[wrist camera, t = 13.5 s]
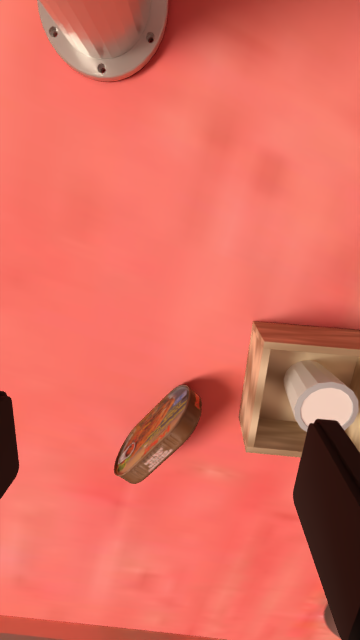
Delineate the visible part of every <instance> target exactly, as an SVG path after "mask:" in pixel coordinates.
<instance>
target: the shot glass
mask: <svg viewBox="0 0 360 640" xmlns="http://www.w3.org/2000/svg"><path fill="white" fill-rule="evenodd" d="M284 387H285V390H286V393H287V396H288V399H289V402H290V405H291V408H292V411H293V414H294V417H295V420H296V421H297V423H298V425H299V426H300V428H302V429H303V430H304V431H306V432H307V429H308V426H309V424H310V423H314V422H315V420H316V419H326V420H336V421H338V422H339V423H340V425H341V426H342V428H343V429H344V430H346V429H347V428H348V427H349V426H350V425H351V424H352V423H353V422H354V420H355V418H356V416H357V414H358V412H359V409H358V399H357V397H356V396H355V394H354V392H353V391H352V390H351V389H350V388H349V387H347V386H346V385H345V384H344V383H343V382H342V381H340V380H339V379H338V378H337V377H336V376H334V375H333V374H332V373H331V372H330V371H328V370H327V369H326V368H325V367H324V366H322V365H321V364H319V363H318V362H316V361H311V360H304V361H299V362H297V363H295V364H293V365H292V366H291V367H290V368H289V369H288V370H287V371H286V374H285V376H284Z"/></svg>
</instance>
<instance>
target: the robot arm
mask: <svg viewBox="0 0 360 640" xmlns="http://www.w3.org/2000/svg"><path fill="white" fill-rule="evenodd" d="M37 3H38V11H39V15H40V19H41V22H42V26H43V28H44V31H45V33H46V35H47V37H48V39H49V41H50V43H51V44H52V46H53V47H54V49H55V50H56V52H57V53H58V54H59V56H60V57H61V58H62V59H63V60H64V61H65V62H66V63H67V64H68V65H69V66H70V67H71V68H72V69H73V70H75V71H76V72H78V73H80V74H81V75H83V76H85V77H88V78H90V79H93V80H97V81H105V82H109V81H118V80H121V79H124V78H127V77H130V76H131V75H133V74H135V73H136V72H138V71H139V70H141V69H142V68H143V67H144V66H145V65H146V64H147V63H148V62H149V61H150V59H151V58H152V56H153V55H154V54H155V52H156V51H157V49H158V47H159V44H160V42H161V40H162V38H163V35H164V31H165V28H166V24H167V16H168V0H37ZM57 34H58V35H57ZM56 35H57V36H56ZM55 36H56V37H55ZM150 40H153V42H152V43H149V41H150ZM103 70H106V71H105V73H103V74H102V71H103ZM18 470H19V460H18V451H17V443H16V434H15V425H14V416H13V408H12V400H11V398H10V397H8V396H7V394H6V393H5V392H4V391H0V499H1V497H2V496H3V495H4V493H5V492H6V490H7V489H8V487H9V486H10V485H11V483H12V482H13V480H14V479H15V477H16V475H17V473H18ZM293 499H294V504H295V507H296V510H297V513H298V516H299V519H300V522H301V525H302V528H303V531H304V534H305V536H306V539H307V542H308V545H309V548H310V551H311V554H312V557H313V560H314V563H315V566H316V569H317V572H318V574H319V577H320V580H321V583H322V586H323V589H324V592H325V595H326V598H327V601H328V604H329V606H330V610H331V612H332V615H333V618H334V621H335V624H336V627H337V630H338V633H339V635H340V637H341V639H342V640H360V452H359V451H358V449H357V448H356V446H355V445H354V444H353V442H352V441H351V439H350V438H349V436H348V435H347V434H346V432H345V431H344V429H343V428H342V426H341V425H340V423H339V422H338V421H336V420H326V419H316V420H315V422H314V423H310V424H309V426H308V429H307V434H306V438H305V443H304V447H303V451H302V456H301V460H300V464H299V469H298V473H297V477H296V482H295V486H294V491H293ZM0 640H225V639H217V638H208V637H199V636H190V635H182V634H173V633H163V632H154V631H145V630H136V629H126V628H117V627H108V626H99V625H89V624H80V623H70V622H61V621H52V620H42V619H33V618H23V617H13V616H3V615H0Z"/></svg>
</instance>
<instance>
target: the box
mask: <svg viewBox="0 0 360 640" xmlns="http://www.w3.org/2000/svg"><path fill="white" fill-rule="evenodd" d="M304 360H311V361H316V362H318V363H319V364H321V365H322V366H324V367H325V368H326V369H327V370H328V371H330V372H331V373H332V374H333V375H334V376H336V377H337V378H338V379H339V380H340V381H342V382H343V383H344V384H345V385H346V386H347V387H349V388H350V389H351V390H352V391H353V392H354V394H355V396H356V397H357V399H358V409H359V412H358V414H357V416H356V418H355V420H354V422H353V423H352V424H351V425H350V426H349V427H348V428H347V429H346V430H344V431H345V432H346V434H347V435H348V436H349V438H350V439H351V441H352V442H353V444H354V445H355V446H356V448H357V449H358V451H359V452H360V330H352V329H340V328H328V327H316V326H304V325H292V324H280V323H268V322H256V321H253V325H252V332H251V338H250V345H249V352H248V358H247V365H246V372H245V378H244V385H243V392H242V398H241V405H240V412H239V421H240V426H241V430H242V435H243V440H244V445H245V449H246V452H250V453H260V454H270V455H281V456H291V457H301V456H302V451H303V447H304V443H305V438H306V434H307V432H306V431H304V430H303V429H302V428H300V426H299V425H298V423H297V421H296V420H295V417H294V414H293V411H292V408H291V405H290V402H289V399H288V396H287V393H286V390H285V387H284V376H285V374H286V371H287V370H288V369H289V368H290V367H291V366H292V365H293V364H295V363H297V362H299V361H304Z"/></svg>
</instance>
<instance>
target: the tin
mask: <svg viewBox="0 0 360 640" xmlns="http://www.w3.org/2000/svg"><path fill="white" fill-rule="evenodd" d="M201 406H202V402H201V398H200V396H199V395H197V394H196V393H195V392H194V391H193V390H191V389H190V388H189V386H187V385H180V386H178V387H176V388H174V389H173V390H172V391H171V392H170V393H169V394H168V395H167V396H166V397H165V398H163V399H162V400H161V402H160V403H158V404H157V405H156V406H155V407H154V408H153V409H152V410H151V411H150V412H149V413H148V414H147V415H146V416H145V417H144V418H143V419H142V420H141V421H140V422H139V423H138V424H137V425H136V426H135V427H134V429H133V430H132V431H131V432H130V434H129V435H128V437H127V438H126V440H125V441H124V443H123V445H122V447H121V449H120V451H119V453H118V456H117V458H116V461H115V465H114V473H115V475H117V476H120V477H121V478H123V479H124V480H126V481H128V482H129V483H132V484H136V483H139V482H141V481H142V480H144V479H145V478H146V477H147V476H148V475H150V474H151V473H152V472H153V471H154V470H155V469H156V468H157V467H158V466H159V465H161V464H162V463H163V462H164V461H165V460H166V459H167V458H168V457H169V456H170V455H171V454H173V453H174V452H175V451H176V450H177V449H178V448H179V447H180V446H181V445H182V444H183V443H184V442H185V441H186V440H187V439H188V438H189V437H190V435H191V434H192V432H193V431H194V429H195V427H196V426H197V424H198V421H199V419H200V416H201Z"/></svg>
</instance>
